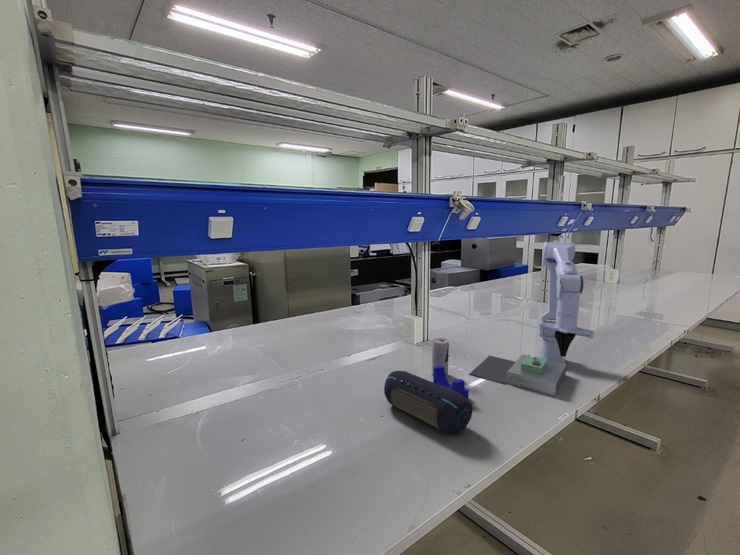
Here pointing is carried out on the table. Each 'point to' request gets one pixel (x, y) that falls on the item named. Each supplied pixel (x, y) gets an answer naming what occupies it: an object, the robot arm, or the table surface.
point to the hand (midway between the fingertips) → (563, 355)
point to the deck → (537, 377)
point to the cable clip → (441, 380)
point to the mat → (493, 369)
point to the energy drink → (440, 354)
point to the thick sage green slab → (534, 364)
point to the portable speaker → (428, 401)
